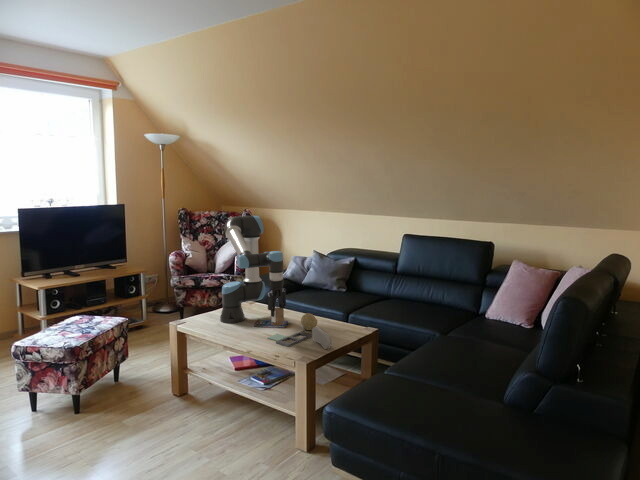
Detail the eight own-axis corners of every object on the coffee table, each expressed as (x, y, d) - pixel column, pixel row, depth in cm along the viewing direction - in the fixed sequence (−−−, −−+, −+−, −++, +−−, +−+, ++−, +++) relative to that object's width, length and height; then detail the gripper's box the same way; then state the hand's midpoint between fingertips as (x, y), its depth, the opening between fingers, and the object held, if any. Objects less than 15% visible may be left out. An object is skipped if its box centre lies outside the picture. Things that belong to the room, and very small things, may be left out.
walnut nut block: (271, 324, 268) (270, 309, 267) (277, 322, 272) (276, 307, 270) (277, 326, 265) (277, 310, 264) (283, 324, 269) (283, 308, 268)
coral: (316, 314, 290) (318, 312, 281) (315, 331, 288) (317, 329, 278) (300, 313, 290) (301, 311, 280) (300, 330, 287) (301, 329, 277)
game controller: (331, 350, 251) (331, 335, 249) (327, 351, 250) (327, 335, 248) (315, 339, 268) (315, 324, 267) (311, 339, 267) (311, 325, 266)
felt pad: (267, 338, 269) (267, 337, 269) (277, 334, 275) (277, 333, 275) (278, 341, 264) (278, 340, 264) (287, 337, 270) (287, 336, 270)
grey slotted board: (275, 343, 261) (275, 341, 261) (301, 332, 278) (301, 330, 278) (288, 346, 256) (288, 345, 255) (313, 335, 273) (313, 333, 273)
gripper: (270, 283, 255) (271, 325, 259) (292, 277, 270) (293, 317, 273) (260, 281, 260) (261, 323, 263) (282, 275, 274) (283, 315, 277)
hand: (277, 320), depth 268 cm, fingers closed on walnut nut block, 5 cm apart
